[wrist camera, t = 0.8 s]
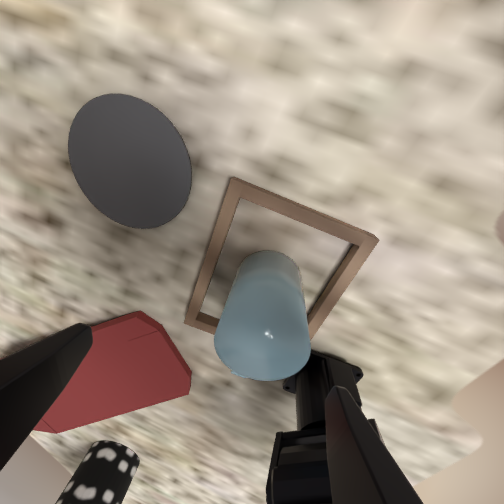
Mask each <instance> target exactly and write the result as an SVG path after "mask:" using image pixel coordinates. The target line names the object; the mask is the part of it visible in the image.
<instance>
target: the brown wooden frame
mask: <svg viewBox="0 0 504 504" xmlns="http://www.w3.org/2000/svg"><path fill="white" fill-rule="evenodd" d="M240 197H241V198H243V199H246V200H248V201H251V202H253V203H256V204H258V205H260V206H263V207H265V208H268V209H270V210H273V211H275V212H277V213H280V214H282V215H285V216H287V217H290V218H292V219H294V220H297V221H299V222H302V223H304V224H307V225H309V226H312V227H314V228H316V229H319V230H321V231H324V232H326V233H329V234H331V235H333V236H336V237H338V238H341V239H343V240H346V241H348V242H350V243H353V246H352V247H351V249H350V251H349V252H348V254H347V255H346V257H345V258H344V260H343V262H342V263H341V265H340V266H339V268H338V269H337V271H336V273H335V274H334V276H333V277H332V279H331V280H330V282H329V283H328V285H327V287H326V288H325V290H324V291H323V293H322V294H321V296H320V298H319V299H318V301H317V302H316V304H315V305H314V307H313V309H312V310H311V312H310V313H309V315H308V316H307V322H308V330H309V337H310V341H311V339H312V338H313V336H314V335H315V333H316V332H317V330H318V329H319V327H320V326H321V325H322V323H323V322H324V320H325V319H326V317H327V316H328V314H329V313H330V311H331V310H332V309H333V307H334V306H335V304H336V303H337V301H338V300H339V298H340V297H341V295H342V294H343V293H344V291H345V290H346V288H347V287H348V285H349V284H350V282H351V281H352V279H353V278H354V277H355V275H356V274H357V272H358V271H359V269H360V268H361V266H362V265H363V263H364V262H365V261H366V259H367V258H368V256H369V255H370V253H371V252H372V250H373V249H374V247H375V246H376V245H377V243H378V242H379V239H378V238H377V237H376V236H375V235H373V234H371V233H369V232H366V231H364V230H361V229H359V228H357V227H354V226H352V225H349V224H347V223H345V222H342V221H340V220H337V219H335V218H333V217H330V216H328V215H325V214H323V213H320V212H318V211H316V210H313V209H311V208H308V207H306V206H304V205H301V204H299V203H296V202H294V201H292V200H289V199H287V198H284V197H282V196H280V195H277V194H275V193H272V192H270V191H267V190H265V189H263V188H260V187H258V186H255V185H253V184H251V183H248V182H246V181H243V180H241V179H239V178H236V177H233V178H231V180H230V184H229V187H228V190H227V193H226V196H225V199H224V202H223V205H222V208H221V211H220V214H219V217H218V220H217V223H216V226H215V229H214V232H213V235H212V238H211V241H210V244H209V247H208V250H207V253H206V256H205V259H204V262H203V266H202V269H201V272H200V275H199V278H198V281H197V284H196V287H195V290H194V293H193V296H192V299H191V302H190V305H189V308H188V311H187V314H186V317H185V320H184V324H187V325H190V326H192V327H195V328H197V329H200V330H203V331H205V332H208V333H211V334H213V335H215V332H216V329H217V326H218V323H219V321H220V320H219V319H217V318H214V317H211V316H209V315H206V314H204V313H201V312H199V311H200V309H201V306H202V303H203V300H204V297H205V295H206V292H207V289H208V286H209V284H210V281H211V278H212V275H213V272H214V270H215V267H216V264H217V261H218V258H219V256H220V253H221V250H222V247H223V245H224V242H225V239H226V236H227V233H228V231H229V228H230V225H231V222H232V220H233V217H234V214H235V211H236V208H237V206H238V203H239V200H240Z"/></svg>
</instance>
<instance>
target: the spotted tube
mask: <svg viewBox="0 0 504 504" xmlns="http://www.w3.org/2000/svg"><path fill="white" fill-rule="evenodd" d="M139 462H140V461H139V458H138V456H137V455H136V454H135V453H134V452H133V451H132V450H130V449H129V448H127V447H125V446H123V445H121V444H118V443H115V442H111V441H98V442H95V443H94V444H93V445H92V446H91V448H90V449H89V451H88V453H87V454H86V456H85V457H84V459H83V461H82V462H81V464H80V465H79V467H78V468H77V470H76V472H75V473H74V475H73V476H72V478H71V480H70V481H69V483H68V484H67V486H66V488H65V489H64V491H63V492H62V494H61V495H60V497H59V499H58V500H57V502H56V503H55V504H122V501H123V499H124V497H125V495H126V492H127V490H128V488H129V486H130V483H131V481H132V479H133V477H134V475H135V472H136V470H137V468H138V466H139Z"/></svg>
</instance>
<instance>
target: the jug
mask: <svg viewBox="0 0 504 504" xmlns="http://www.w3.org/2000/svg"><path fill="white" fill-rule="evenodd" d="M214 346H215V350H216V352H217V354H218V356H219V358H220V359H221V361H222V362H223V363H224V364H225V365H226V366H227V367H228V368H230V369H231V373H232V374H235V375H238V376H241V377H243V378H250V379H255V380H261V381H274V380H280V379H284V378H287V377H290V376H292V375H294V374H295V373H297V372H298V371H300V370H301V369H302V368H303V367H304V366H305V364H306V363H307V361H308V359H309V356H310V352H311V345H310V337H309V330H308V322H307V315H306V307H305V300H304V293H303V285H302V278H301V273H300V270H299V268H298V266H297V265H296V263H295V262H294V261H293V260H292V259H291V258H289V257H288V256H286V255H284V254H282V253H280V252H276V251H259V252H256V253H253V254H251V255H250V256H248V257H247V258H245V259H244V260H243V261H242V263H241V264H240V266H239V268H238V270H237V273H236V276H235V279H234V282H233V284H232V287H231V290H230V293H229V296H228V298H227V301H226V304H225V307H224V310H223V312H222V315H221V318H220V321H219V323H218V326H217V329H216V332H215V336H214Z"/></svg>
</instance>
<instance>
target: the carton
mask: <svg viewBox="0 0 504 504" xmlns="http://www.w3.org/2000/svg"><path fill="white" fill-rule="evenodd" d="M91 328H92V336H93V344H92V347H91V348H90V350H89V352H88V353H87V355H86V356H85V358H84V359H83V361H82V362H81V364H80V365H79V367H78V369H77V370H76V372H75V373H74V375H73V376H72V378H71V379H70V381H69V383H68V384H67V386H66V387H65V388H64V390H63V391H62V393H61V394H60V395H59V397H58V398H57V399H56V400H55V402H54V403H53V404H52V406H51V407H50V408H49V409H48V411H47V412H46V413H45V415H44V416H43V417H42V418H41V420H40V421H39V422H38V424H37V425H36V426H35V427H34V429H33V430H36V431H43V432H49V433H56V434H57V433H60V432H64V431H67V430H71V429H74V428H77V427H81V426H84V425H87V424H91V423H94V422H97V421H101V420H104V419H108V418H111V417H114V416H118V415H121V414H124V413H128V412H131V411H134V410H138V409H141V408H144V407H148V406H151V405H155V404H158V403H161V402H165V401H168V400H171V399H175V398H178V397H181V396H185V395H188V394H189V391H190V387H191V374H192V371H191V370H190V368H189V367H188V365H187V364H186V362H185V360H184V359H183V357H182V356H181V354H180V353H179V351H178V349H177V348H176V346H175V345H174V343H173V342H172V340H171V339H170V337H169V335H168V334H167V332H166V331H165V329H164V328H163V326H162V325H161V324H160V323H158V322H157V321H155V320H154V319H152V318H151V317H149V316H148V315H146V314H145V313H143V312H142V311H137V312H134V313H130V314H127V315H124V316H121V317H118V318H115V319H112V320H110V321H107V322H104V323H101V324H98V325H95V326H92V327H91ZM6 357H7V356H6ZM3 358H5V357H3ZM3 358H1V359H3Z"/></svg>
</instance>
